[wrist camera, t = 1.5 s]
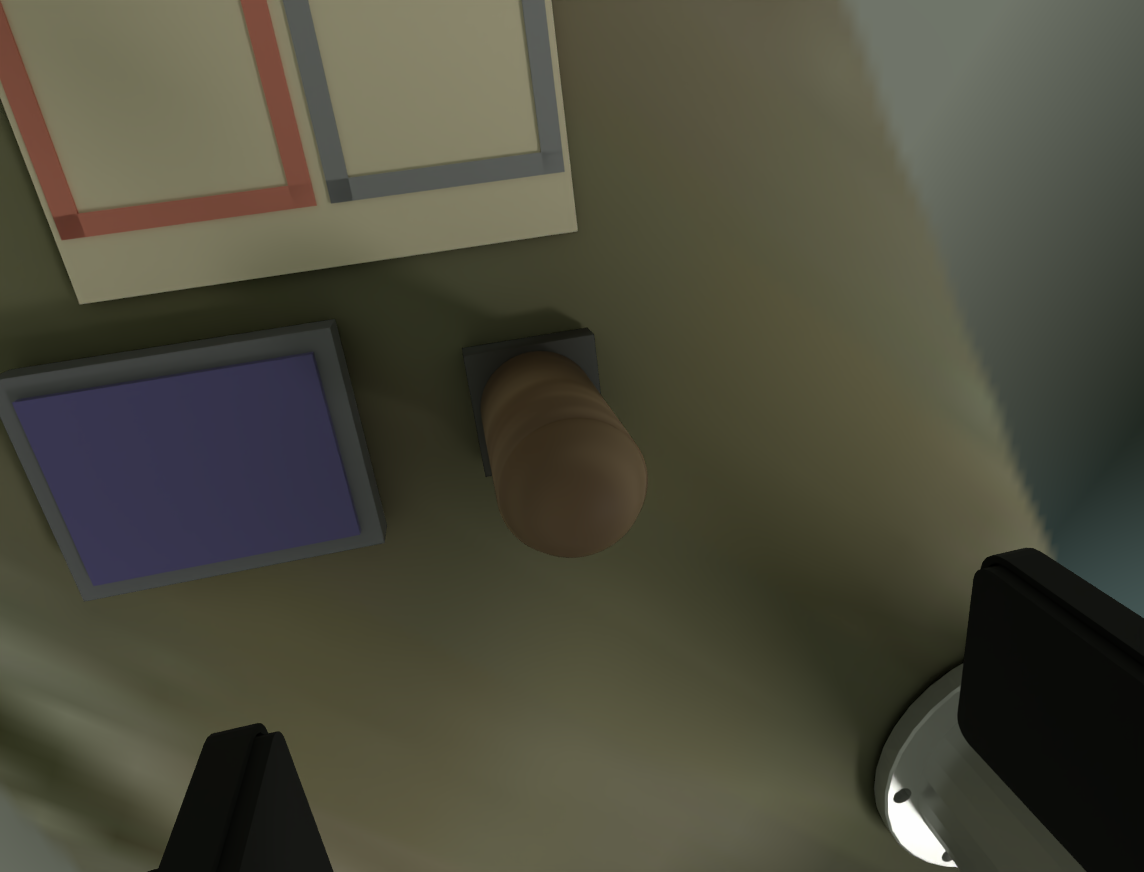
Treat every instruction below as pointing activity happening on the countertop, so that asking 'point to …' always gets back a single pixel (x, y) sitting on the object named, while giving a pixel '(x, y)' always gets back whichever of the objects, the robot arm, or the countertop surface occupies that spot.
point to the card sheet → (282, 133)
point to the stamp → (554, 443)
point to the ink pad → (196, 457)
